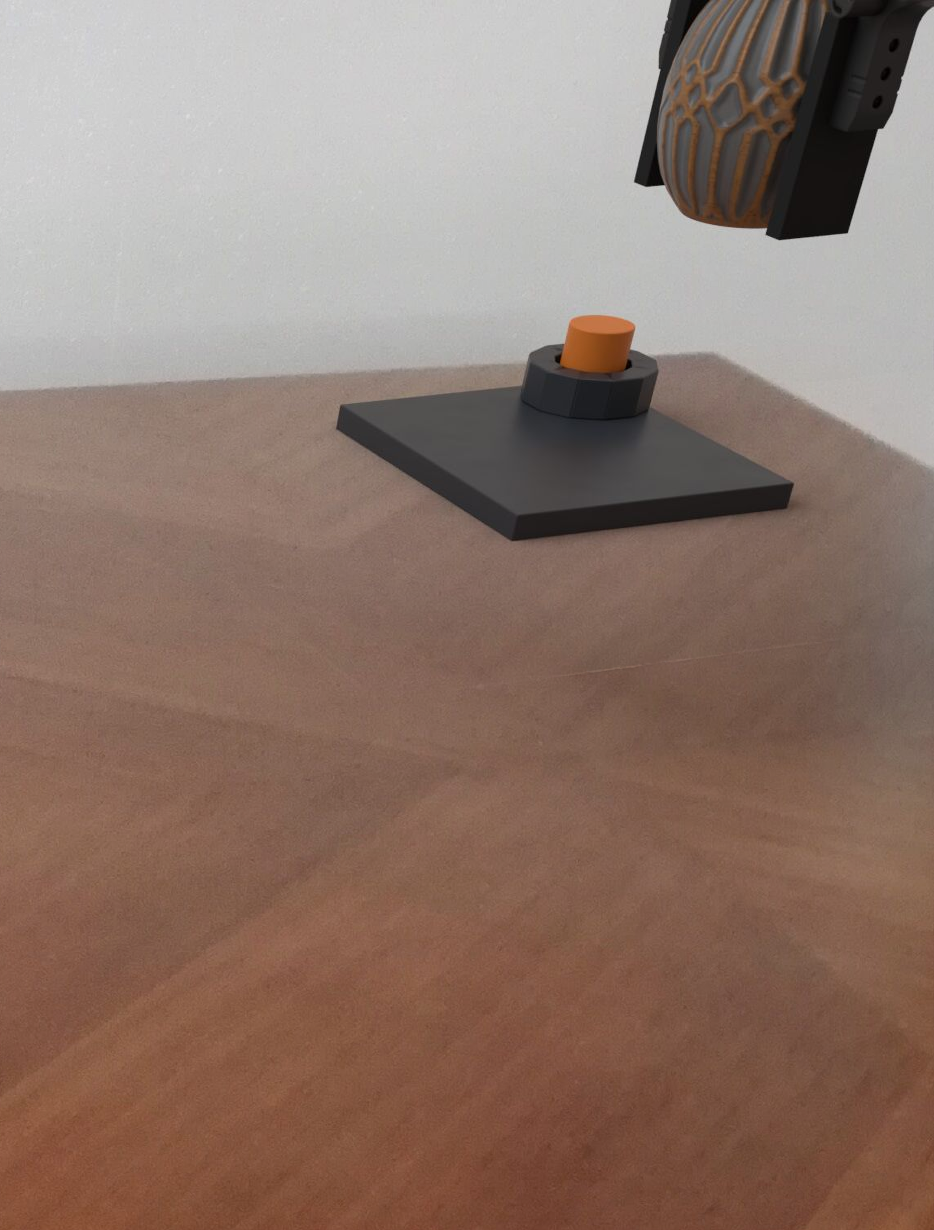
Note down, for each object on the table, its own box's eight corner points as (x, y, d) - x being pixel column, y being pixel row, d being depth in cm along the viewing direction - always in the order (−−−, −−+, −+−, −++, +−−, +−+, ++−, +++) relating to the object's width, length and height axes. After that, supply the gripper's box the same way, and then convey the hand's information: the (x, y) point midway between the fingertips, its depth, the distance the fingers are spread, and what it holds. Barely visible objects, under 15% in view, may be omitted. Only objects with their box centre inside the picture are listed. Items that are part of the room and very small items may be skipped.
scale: (795, 509, 111) (816, 440, 109) (511, 543, 108) (527, 472, 106) (596, 402, 123) (612, 338, 121) (335, 430, 120) (346, 364, 118)
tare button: (636, 375, 117) (648, 330, 116) (581, 381, 117) (592, 335, 115) (601, 357, 119) (612, 312, 118) (546, 363, 119) (557, 317, 117)
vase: (602, 219, 86) (668, -77, 80) (687, 180, 90) (757, -105, 84) (796, 252, 82) (881, -55, 77) (877, 210, 86) (963, -85, 80)
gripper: (1348, -685, 64) (1026, 271, 79) (856, -671, 79) (662, 136, 94) (1110, -682, 63) (827, 292, 78) (652, -668, 77) (488, 152, 92)
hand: (737, 206), depth 86 cm, fingers closed on vase, 7 cm apart
